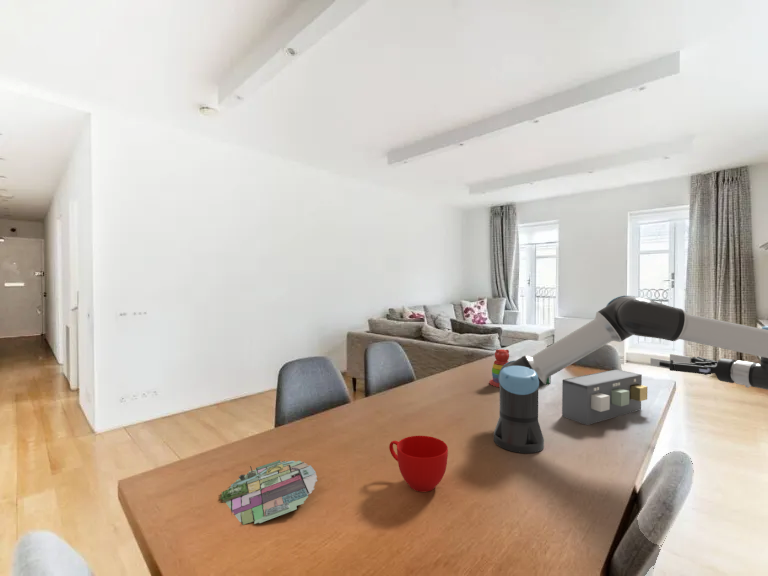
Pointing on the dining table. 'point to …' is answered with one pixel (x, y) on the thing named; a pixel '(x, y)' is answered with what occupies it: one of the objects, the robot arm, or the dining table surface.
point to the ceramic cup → (421, 461)
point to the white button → (600, 402)
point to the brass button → (638, 392)
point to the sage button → (619, 397)
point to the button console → (582, 387)
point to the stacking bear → (499, 365)
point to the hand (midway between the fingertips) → (660, 359)
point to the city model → (270, 491)
